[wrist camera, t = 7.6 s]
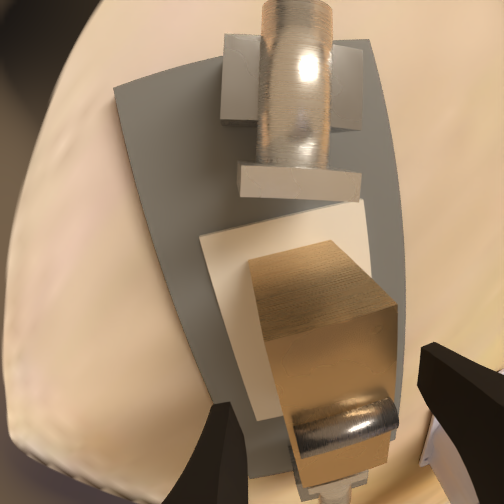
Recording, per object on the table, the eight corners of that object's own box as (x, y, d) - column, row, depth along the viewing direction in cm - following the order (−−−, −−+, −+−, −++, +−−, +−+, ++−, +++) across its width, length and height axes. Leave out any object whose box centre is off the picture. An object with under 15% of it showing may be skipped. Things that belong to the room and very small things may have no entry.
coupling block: (331, 239, 13) (413, 320, 7) (346, 378, 16) (393, 478, 10) (247, 260, 13) (268, 364, 7) (282, 396, 16) (307, 505, 10)
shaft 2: (282, 427, 17) (296, 491, 13) (353, 408, 17) (379, 467, 13) (295, 473, 19) (307, 526, 15) (353, 457, 19) (372, 507, 15)
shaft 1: (327, 183, 13) (378, 203, 8) (219, 178, 13) (216, 196, 8) (333, 46, 11) (382, 6, 7) (226, 36, 11) (227, -18, 6)
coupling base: (391, 432, 20) (396, 442, 19) (249, 470, 20) (250, 482, 19) (362, 43, 12) (372, 37, 11) (119, 90, 12) (110, 87, 11)
